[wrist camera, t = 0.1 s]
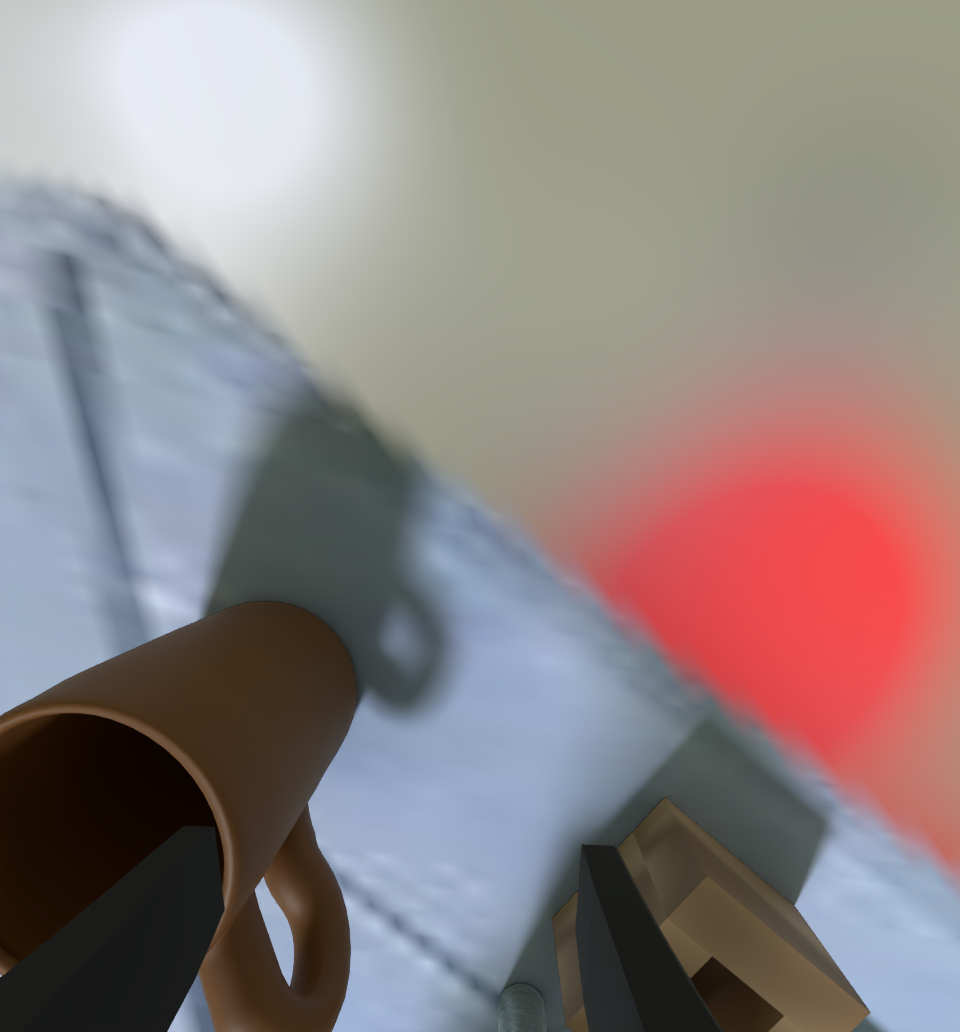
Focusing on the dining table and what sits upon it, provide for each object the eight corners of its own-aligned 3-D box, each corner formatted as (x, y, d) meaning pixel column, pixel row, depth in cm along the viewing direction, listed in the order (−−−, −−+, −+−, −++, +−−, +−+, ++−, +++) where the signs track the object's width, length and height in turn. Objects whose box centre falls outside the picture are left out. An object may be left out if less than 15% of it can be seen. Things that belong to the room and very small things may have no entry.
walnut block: (679, 1024, 20) (724, 1156, 16) (551, 918, 20) (565, 1024, 16) (795, 906, 20) (870, 1012, 16) (664, 797, 20) (707, 875, 16)
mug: (460, 788, 20) (428, 1055, 11) (318, 883, 21) (168, 1219, 11) (291, 559, 20) (103, 626, 10) (151, 662, 20) (-149, 815, 11)
